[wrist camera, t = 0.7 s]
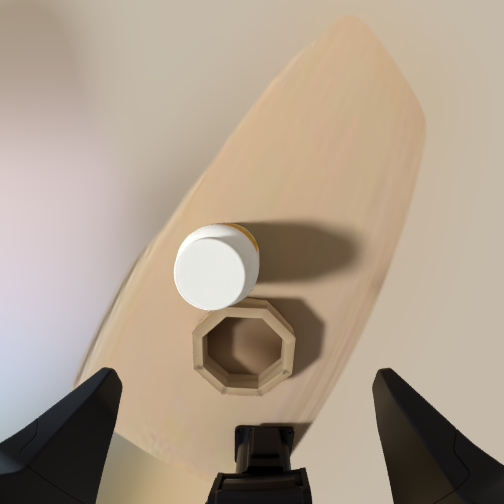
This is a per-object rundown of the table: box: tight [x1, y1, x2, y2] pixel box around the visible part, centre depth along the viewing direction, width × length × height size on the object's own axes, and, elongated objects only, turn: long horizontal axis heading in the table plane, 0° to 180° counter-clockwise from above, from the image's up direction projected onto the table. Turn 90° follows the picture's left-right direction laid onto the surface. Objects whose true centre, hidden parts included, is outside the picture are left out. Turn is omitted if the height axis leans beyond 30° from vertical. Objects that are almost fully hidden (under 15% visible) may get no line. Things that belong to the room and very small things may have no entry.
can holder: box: [192, 297, 296, 396], centre depth 24 cm, size 8×8×3 cm
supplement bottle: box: [174, 223, 260, 310], centre depth 20 cm, size 5×5×10 cm
